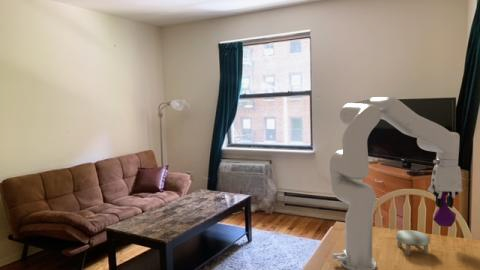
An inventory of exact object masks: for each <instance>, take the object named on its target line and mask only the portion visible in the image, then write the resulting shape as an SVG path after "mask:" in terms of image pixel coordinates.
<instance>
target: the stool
mask: <svg viewBox="0 0 480 270" xmlns="http://www.w3.org/2000/svg"><path fill="white" fill-rule="evenodd" d="M395 234H396V235H395V238H396V240H397V247H398V248H402V247H403V244H404V245H405V255H406V256H408V257H409V256H411V246H412V247H415V248H418V247H423V249H422V250H423V252H422V254H423V255H425V256H427V255H429V245H430V244H431V243H430V242H431V241H430V240H431V239H430V236H429V235H428V234H426V233H424V232H421V231H418V230H412V229H403V230H399V231H397V232H396V233H395Z"/></svg>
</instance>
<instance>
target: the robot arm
mask: <svg viewBox="0 0 480 270" xmlns="http://www.w3.org/2000/svg"><path fill="white" fill-rule="evenodd" d="M339 118H340V121H341V122H342V124H344V125H345V126H346V128H345V130H344V132H343V135H342V138H341V146H342V147H341V148H342V149H339V150H337V151H334V152H333V154H332V156H331V157H330V159H329V173H330V184H331V189H332V193H333V195H334V197H335V198H336V199H338V200H339V201H341V202H343V203H345V204H347V205H349V207H348V210H347V211H346V214H345V220H344V222H345V226H344V227H345V229H344V230H345V233H344V235H345V239H344V240H345V243H344V244H345V249H342V252H340V253H331V256H332V259H333V260H337V262H340V264H341V265H342V266H343V268H345V269H347V270H376V269H377V265H378V264H377V261H376V260H375V259H374V258H373V233H374V232H373V223H374V222H373V220H374V209H375V205H376V200H377V195H376V191H375V190H374V188H373V187H372V186H371V185H370V184H368V183H366V182H363V181H361V180H364V179H366V178H367V176H369V172H370V163H369V152H368V139H369V136H370V134H371V133H372V131H373V130H374V128H375V127H376V126H377V125H378V123H379V122H380V120H384V121H386V122H387V123H388V124H390V125H391V126H393V127H394V128H395V129H397V130H398V131H399V132H401V133H402V134H404V135H405V136H406V135H407V136H409V137H412V138H416V144H417V146H418V147H419V148H420V149H422V150H424V151H426V152H427V151H428V152H434V153H436V156H435V159H433V160H432V163H433V164H434V167H433V170H432V174H431V179H430V180H431V181H430V185H429V187H428V188H427V191H428V192H429V193H432V195H433V196H434V197H435V206H436V207H437V208H438V209H439V208H442V198H441V196H442V192H448V195H447V196H446V203H447V206H448V208H449V209H450V208H451V209H453V207H454V203H455V202H454V200H455V198H456V197H457V195H458V194H460V193H462V192H463V191H464V190H463V188H462V183H463V182H462V172H461V171H462V170H461V167H460V166H459V153H460V141H461V140H460V134H459V133H458V132H454V131H450V130H448V129H447V128H445V126H442V125H441V124H438V123H437V122H434V121H432V120H431V119H427V118H425V117H423V116H421V115H419V114H417V113H416V112H415V111H414V110H412V109H411V108H410V107H408V106H407V105H406V104H404V103H403V102H402V101H400V100H399V99H398V98H396V97H393V96H374V97H373V96H372V97H369V98H365V99H360V100H356V101H353V102H352V101H351V102H348V103H346V104H345V105H343V106H342V108H340V111H339Z"/></svg>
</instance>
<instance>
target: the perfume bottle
mask: <svg viewBox="0 0 480 270" xmlns="http://www.w3.org/2000/svg"><path fill="white" fill-rule="evenodd" d="M447 196H448V192H442V196H441V198H442V208H439V207H438V208H437V210H436V212H435V213H434V216H433V221H434V222H435V223H436V224H437V225H438V226H439V227H449V228H451V227H452V226H453V224H454V223H455V221H456V217H457V213H455V212H454V211H453V210H452V209H450V207H448V206H447Z"/></svg>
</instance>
